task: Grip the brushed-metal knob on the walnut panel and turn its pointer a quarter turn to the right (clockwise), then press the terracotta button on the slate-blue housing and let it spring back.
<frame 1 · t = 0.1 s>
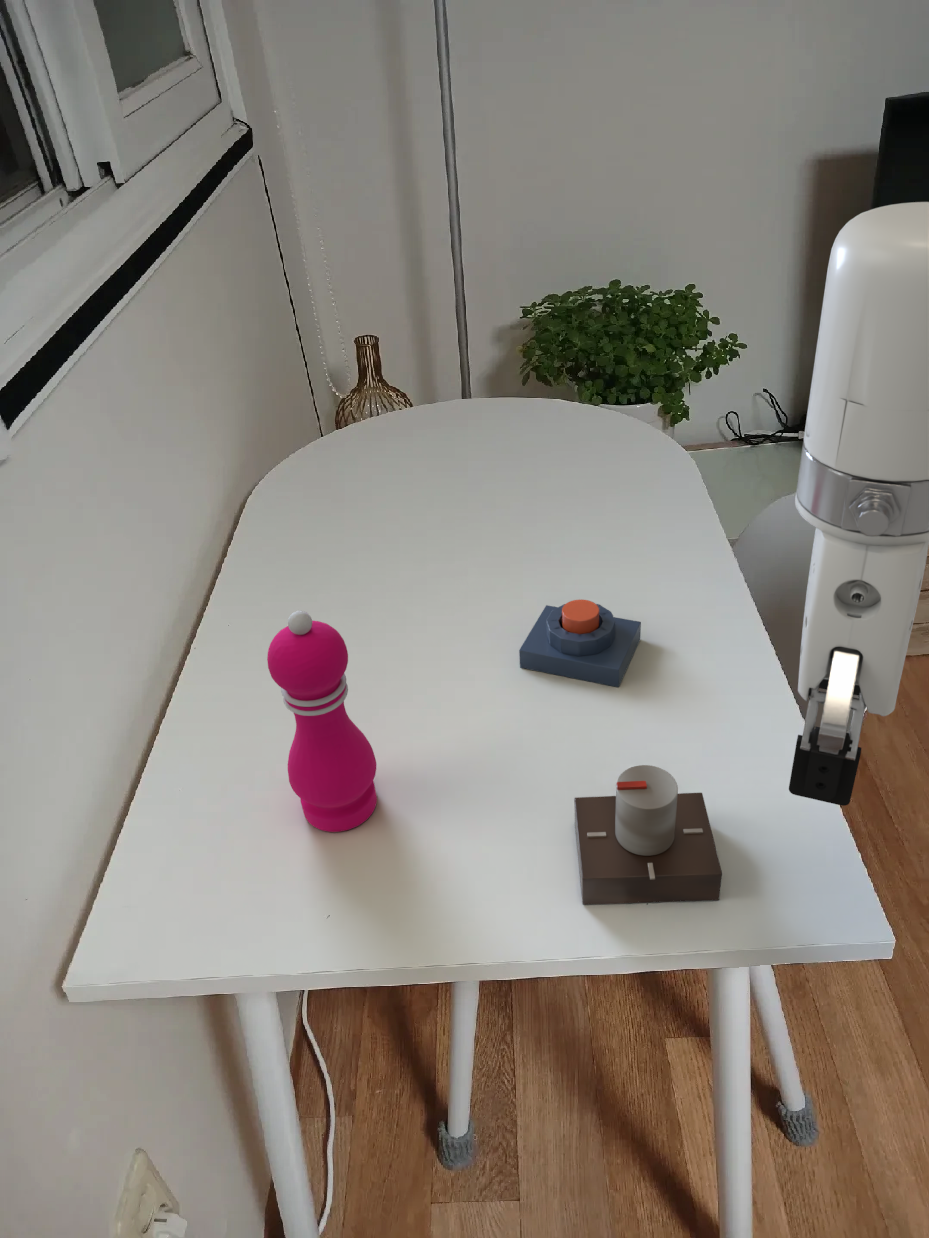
hand: (828, 739, 56), 19 cm above the table, tool pointing down, fingers open, 9 cm apart
button box: (580, 653, 95), on the table
button: (580, 617, 92), point 4 cm above the table, slide at 0.1 cm
pepper mill: (340, 806, 81), on the table
dial panel: (643, 859, 74), on the table
dial knob: (645, 808, 70), point 6 cm above the table, hinge at 0.0°
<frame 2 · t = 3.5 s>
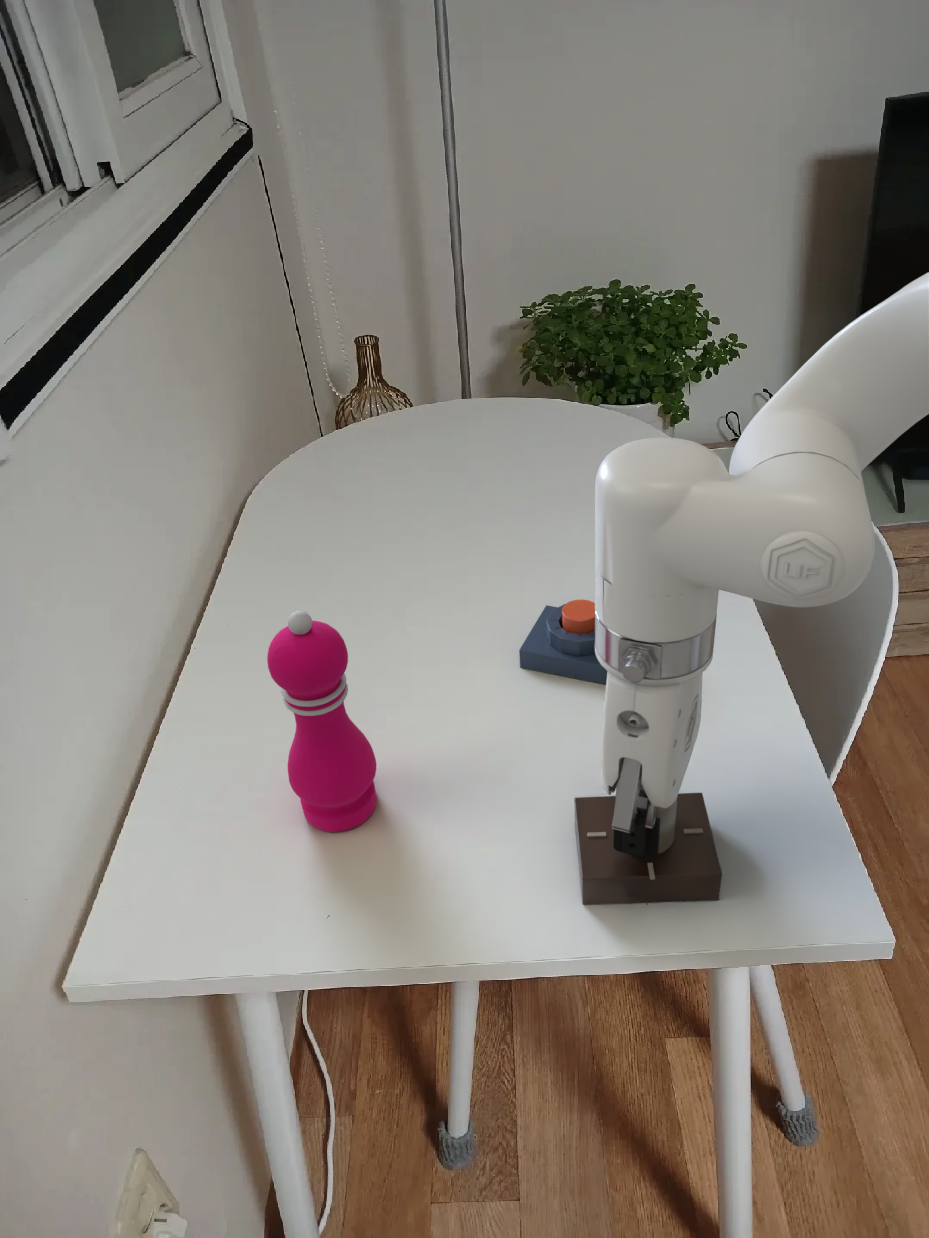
hand: (645, 824, 71), 4 cm above the table, tool pointing down, fingers closed on dial knob, 4 cm apart
dial knob: (645, 808, 70), point 6 cm above the table, hinge at 0.0°, touching gripper
everything else where it was.
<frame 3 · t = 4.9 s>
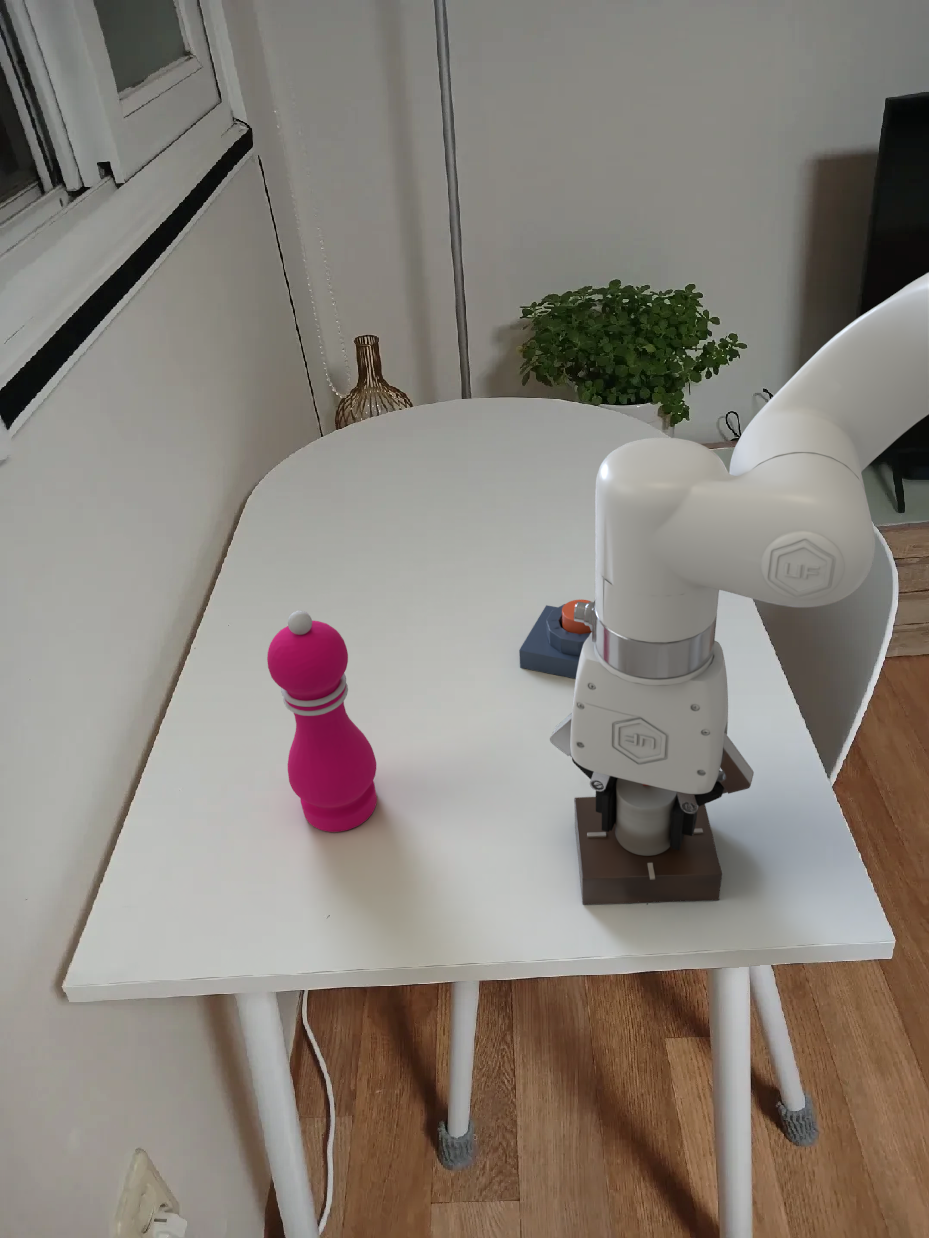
hand: (645, 824, 71), 4 cm above the table, tool pointing down, fingers closed on dial knob, 4 cm apart
dial knob: (645, 808, 70), point 6 cm above the table, hinge at -91.1°, touching gripper
everything else where it was.
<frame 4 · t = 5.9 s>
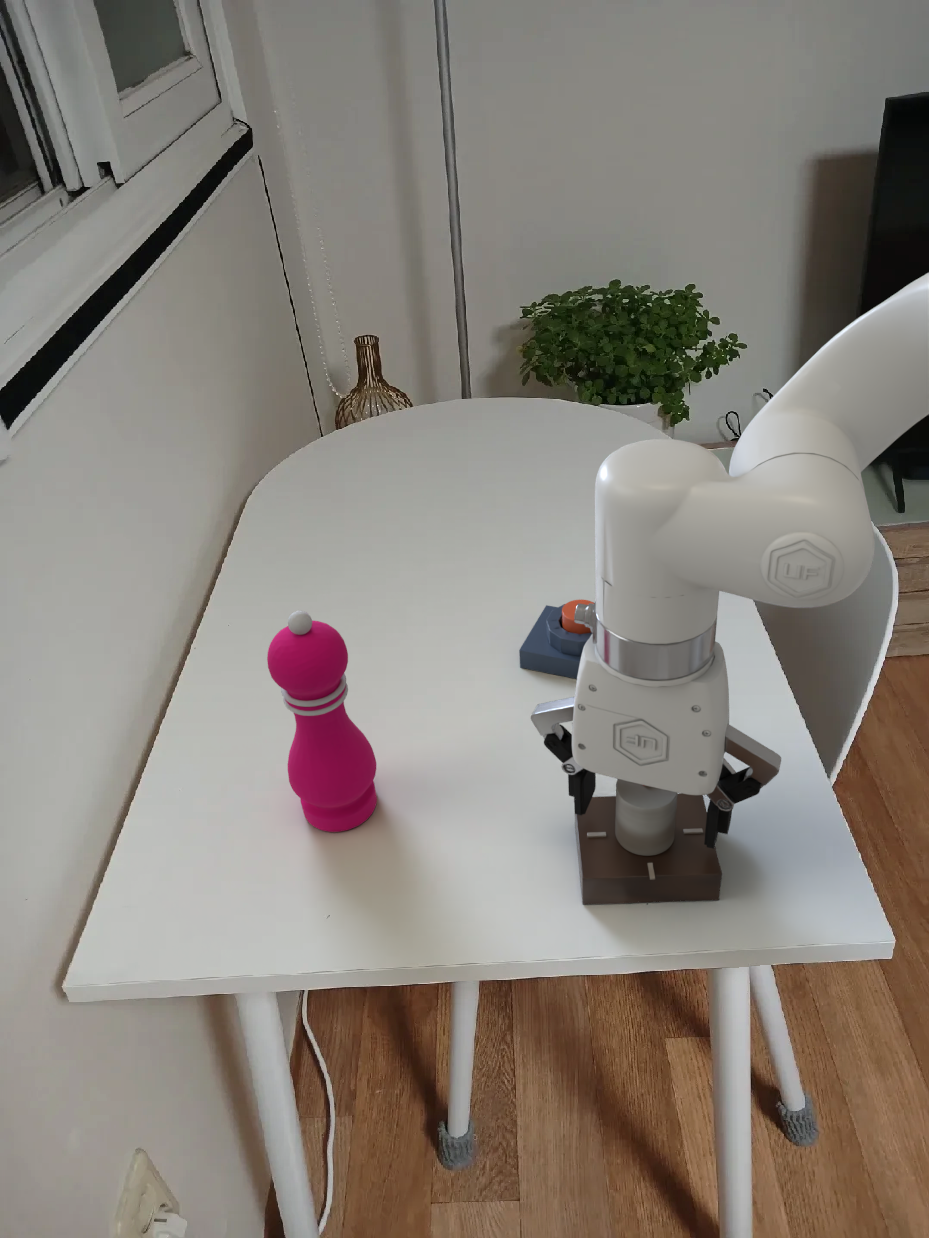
hand: (647, 817, 71), 5 cm above the table, tool pointing down, fingers open, 9 cm apart
dial knob: (645, 808, 70), point 6 cm above the table, hinge at -91.5°
everything else where it was.
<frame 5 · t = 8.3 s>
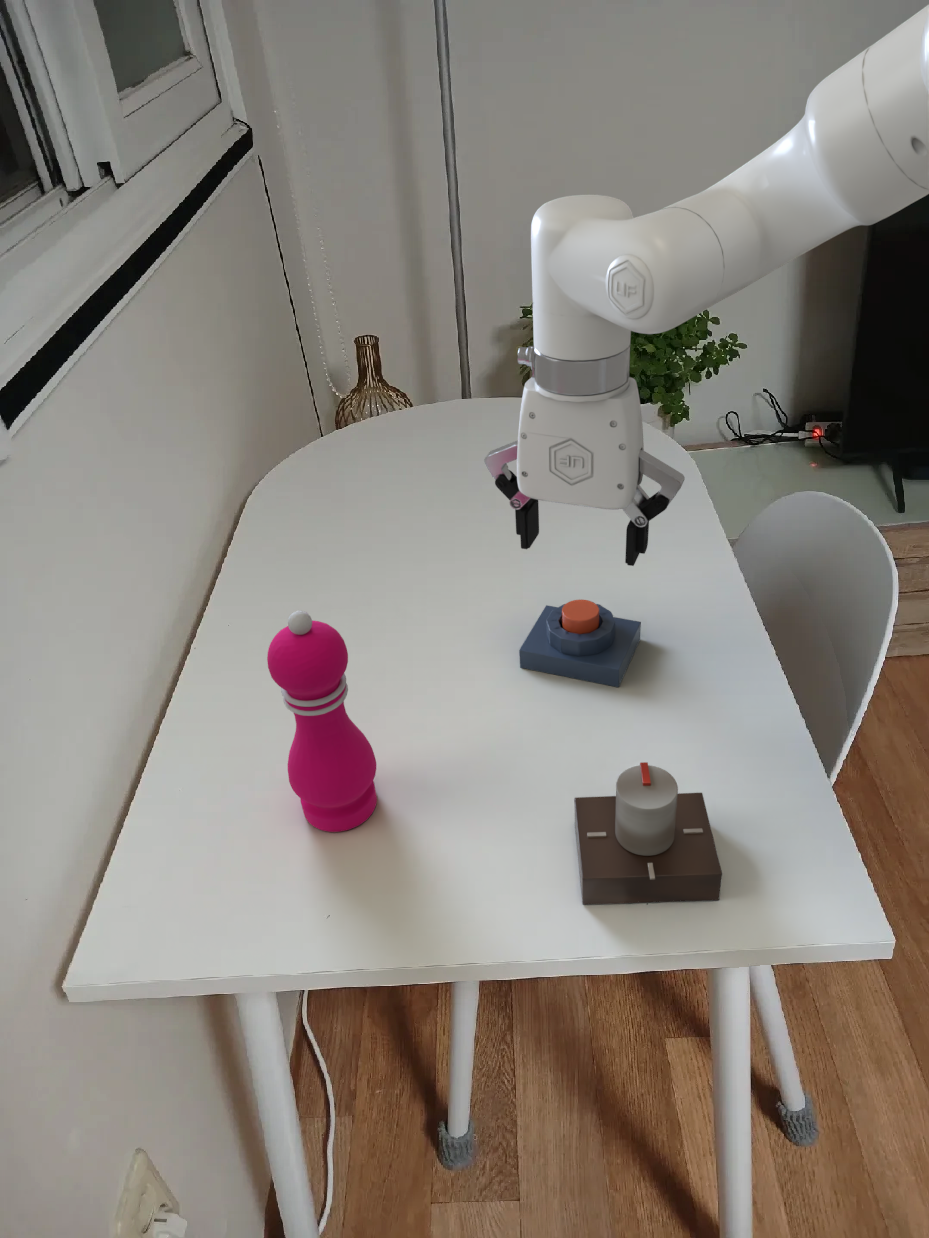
hand: (580, 549, 86), 13 cm above the table, tool pointing down, fingers open, 9 cm apart
nothing on the table moved.
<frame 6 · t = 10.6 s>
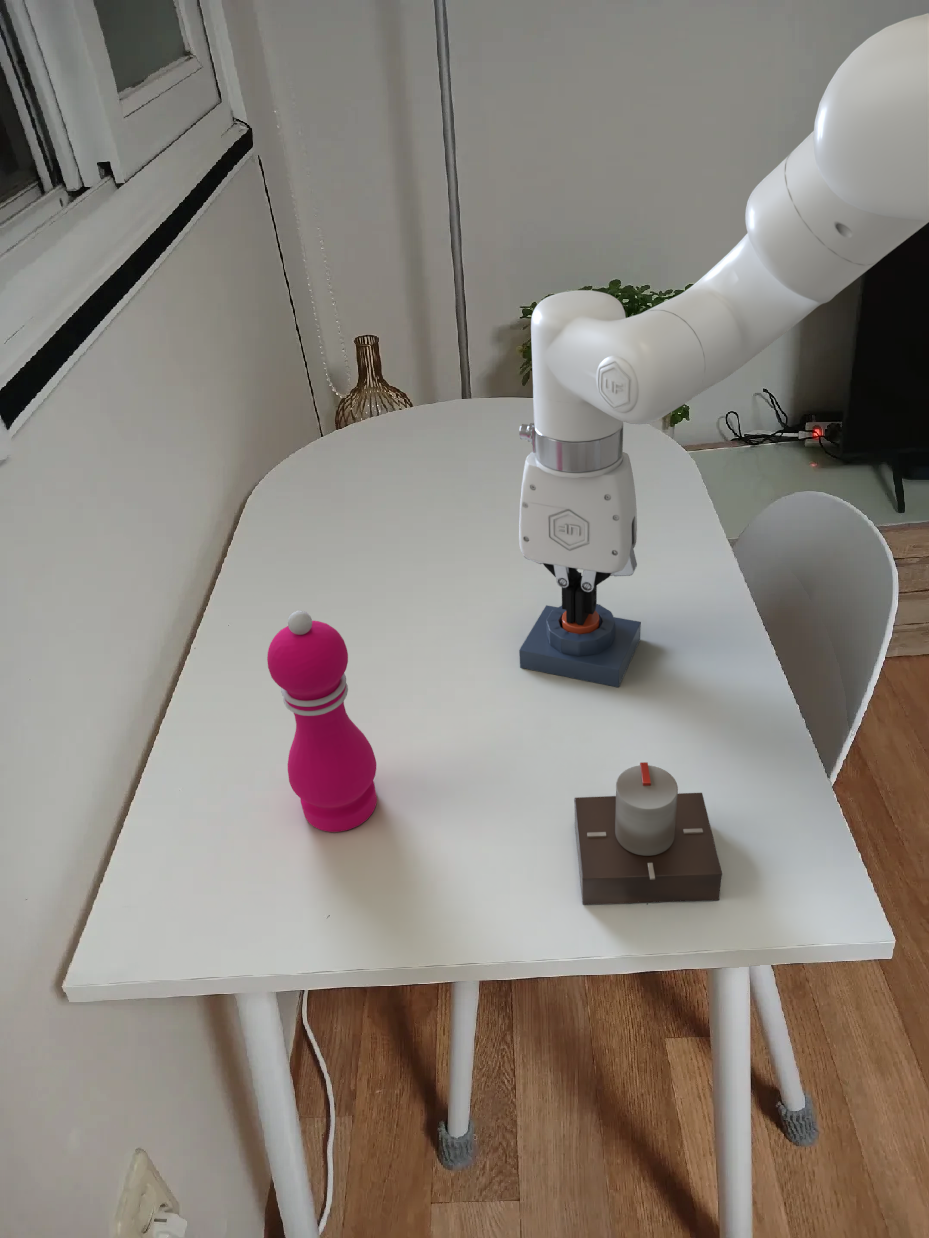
hand: (579, 615, 92), 5 cm above the table, tool pointing down, fingers closed
button: (580, 624, 93), point 4 cm above the table, slide at -0.8 cm, touching gripper
everything else where it was.
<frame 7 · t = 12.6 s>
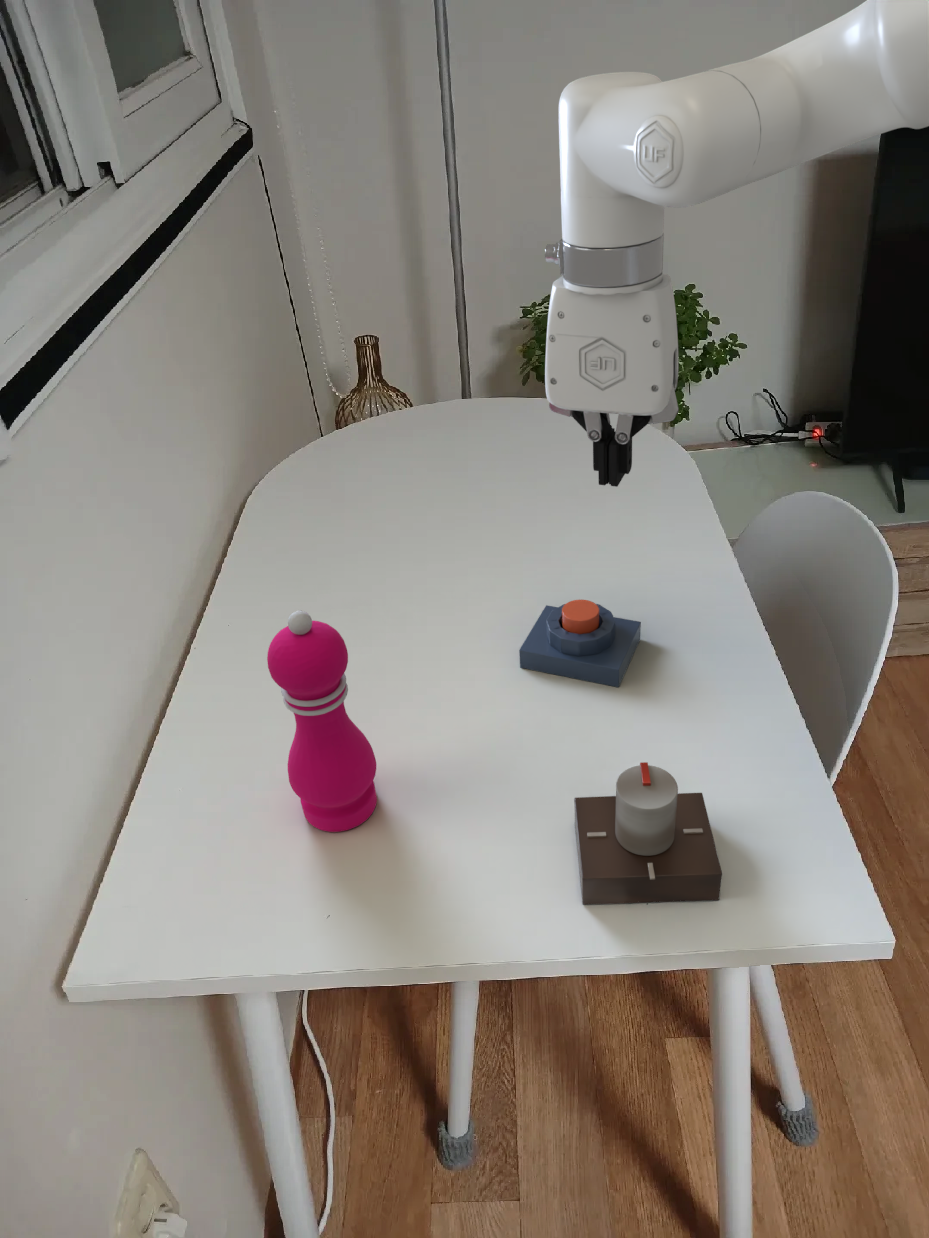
hand: (612, 478, 83), 20 cm above the table, tool pointing down, fingers closed
button: (580, 617, 92), point 4 cm above the table, slide at 0.1 cm
everything else where it was.
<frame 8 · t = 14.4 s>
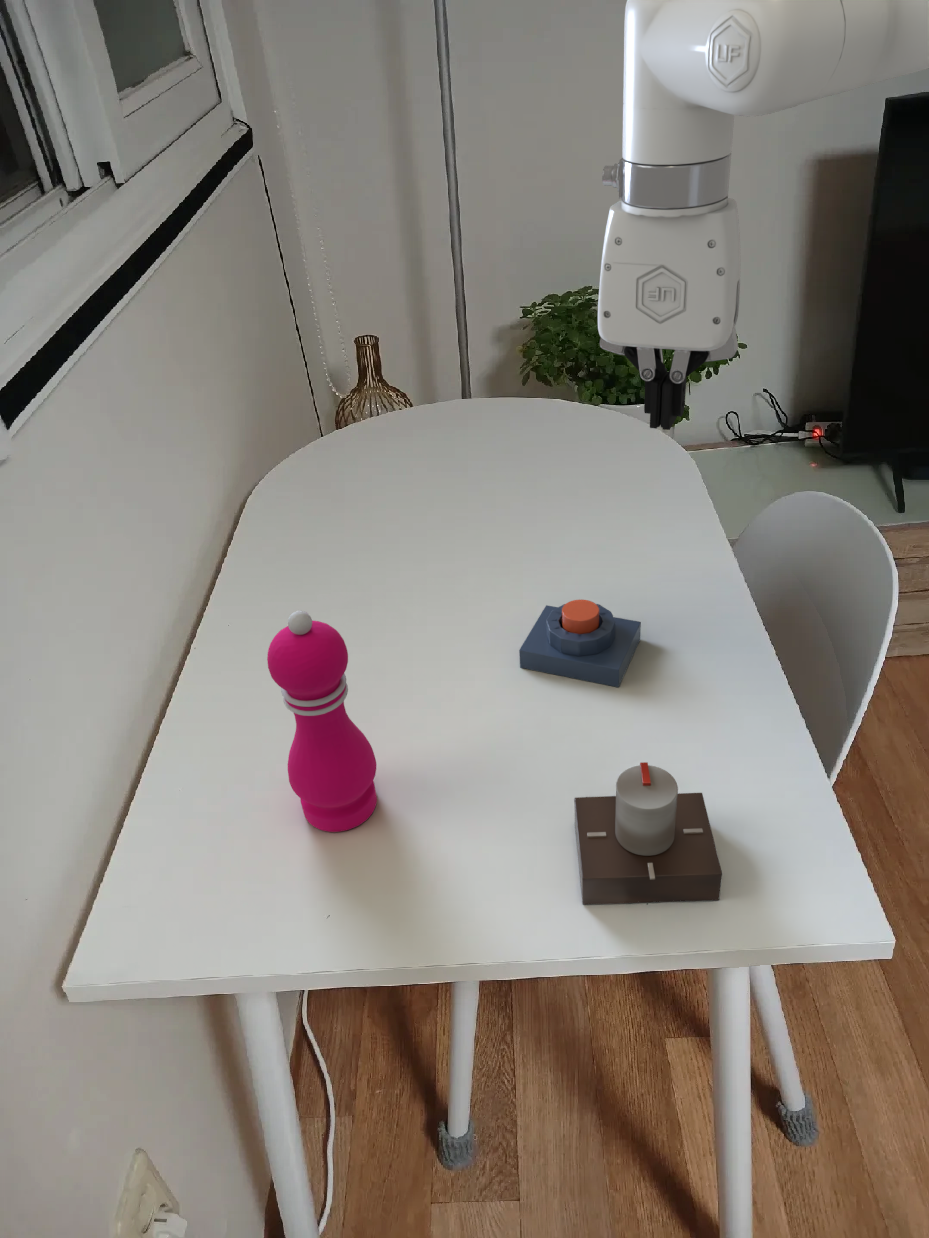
hand: (663, 422, 79), 25 cm above the table, tool pointing down, fingers closed
nothing on the table moved.
at the end: dial knob at -92° (first picture: +0°); button pushed in 1.1 cm at the most during the clip, back to where it started at the end; button slide at 0.1 cm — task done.
